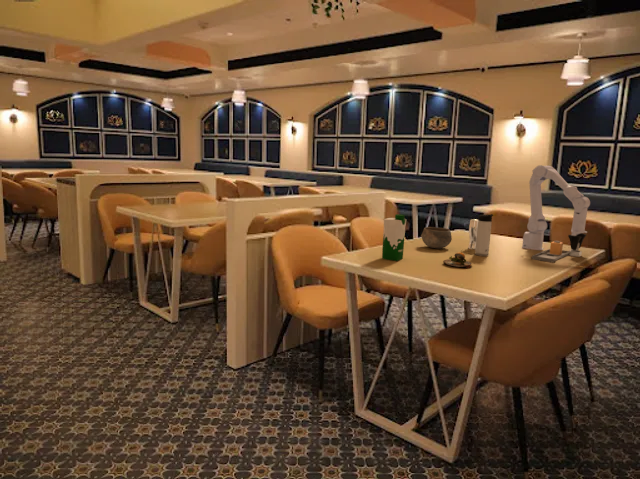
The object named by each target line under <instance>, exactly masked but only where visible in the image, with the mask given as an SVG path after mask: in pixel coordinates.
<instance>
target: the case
mask: <svg viewBox="0 0 640 479" xmlns="http://www.w3.org/2000/svg"><path fill="white" fill-rule="evenodd" d="M539 253H541V255H542V254H547V256H562V257H561V259H563V258H566V257H567V256H569V255H568V253H569V250H564V249H562V255H555V254H550V248H547V249H546V250H545V249H544V250H543V251H542V250H541V251H540V252H539Z"/></svg>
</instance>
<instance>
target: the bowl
mask: <svg viewBox="0 0 640 479" xmlns="http://www.w3.org/2000/svg"><path fill="white" fill-rule="evenodd" d="M420 237H421V240H422V242H423V243H424V245H425V246H426V247H428V248H431V249H439V250H440V249H444V248H446V247H447V246H448V245H450V243H451V242H452V241H453V239H452V238H453V236H452V232H451V230H450V229H449V228H446V227H437V226H436V227H435V226H426V227H424V228H423V230H422V232H421V234H420Z"/></svg>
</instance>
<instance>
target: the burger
mask: <svg viewBox="0 0 640 479" xmlns="http://www.w3.org/2000/svg"><path fill="white" fill-rule="evenodd" d="M442 262H443V264H446V265H448V266H453V267H458V268H459V267H460V268H463V267H465V268H466V270H467V269H470V268H473V266H472V262H470V261H467V258H466V255H465V253H463V250H461V251H459V252H455V253H454V256H452V255H450V256H449V258H448V259H444V260H443V261H442Z"/></svg>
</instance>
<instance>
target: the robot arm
mask: <svg viewBox="0 0 640 479" xmlns="http://www.w3.org/2000/svg"><path fill="white" fill-rule="evenodd" d="M547 179H549V180H551V181H553V182H554V183H555V184H557V186H558V187H559V188H561V190H562V191H563V192H562V193H563V195H564V196H565V197H566V198H567V199H568V200H569V201H570V202H571V203H572V206H573V209H574V210H573V215H572V216H573V218H572V225H571V230H570V232H571V234H568V236H567V237H568V239H569V242H570V243H569V244H570V250H571V249H572V250H576V249H577V246H578V243H580V244H579V249H581V248H582V247H581V246H582V245H583V241H584V239H585V238H586V237H587V233H588V231H586V229H585V228H586V222H587V215H588V209H589V207H590V206H591V201H590V199H589V197H587V196H584V194H582V193H581V192H580V191H579V190H578V187H577V186H574V185H569V183H568V182H567V181H566V180H565V179H564V178H563V176H561V174H560V173H559V172H558V171H557V169H556V168H554V167H553V166H552V165H543V164H539V165H537V166H536V167H534V168H533V170H532V174H531V176H530V179H529V183H528V184H529V198H530V215H529V217H528V222H527V225H526V226H527V230H528V231H525V232H524V233H523V237H522V244H521V245H522V246H521V249H528V250H535V251H542V250H543V251H544V250H545V247H544V248H543V244H544V235H545V234H544V233H545V231H546V230H547V229H548V223H547V221H546V217H545V216H544V215H543V201H542V200H543V198H542V184H543V183H544V181H546V180H547Z"/></svg>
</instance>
